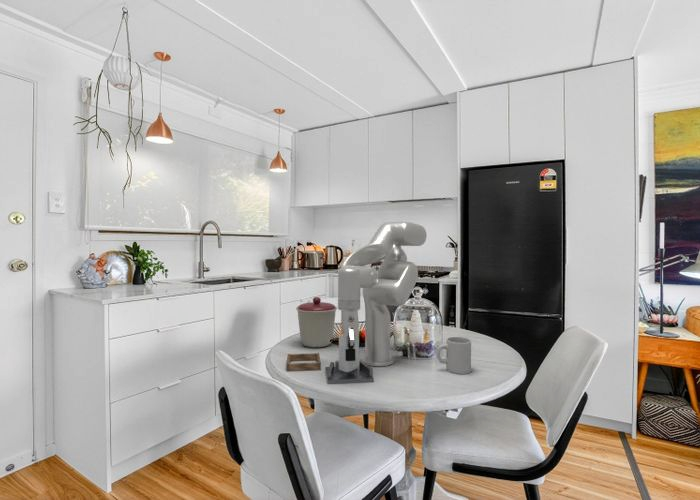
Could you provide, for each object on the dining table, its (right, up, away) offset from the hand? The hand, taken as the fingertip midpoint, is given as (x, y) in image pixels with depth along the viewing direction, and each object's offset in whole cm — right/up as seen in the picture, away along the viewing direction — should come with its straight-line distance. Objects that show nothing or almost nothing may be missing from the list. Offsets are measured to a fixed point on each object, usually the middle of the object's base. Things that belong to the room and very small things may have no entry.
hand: (348, 356), depth 129 cm
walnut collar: (-17, -6, +12) cm, 22 cm away
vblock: (0, -7, +1) cm, 7 cm away
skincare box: (0, -5, 0) cm, 5 cm away
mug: (+37, -7, +7) cm, 39 cm away
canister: (-14, -6, +40) cm, 43 cm away
